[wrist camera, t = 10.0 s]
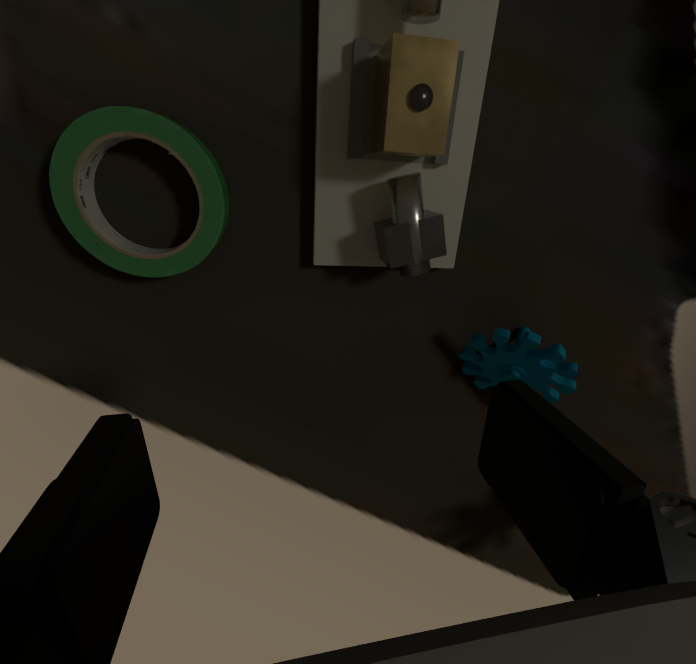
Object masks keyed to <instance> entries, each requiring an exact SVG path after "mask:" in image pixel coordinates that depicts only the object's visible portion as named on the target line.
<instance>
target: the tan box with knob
mask: <svg viewBox="0 0 696 664" xmlns="http://www.w3.org/2000/svg"><path fill="white" fill-rule="evenodd" d="M459 46H460V41H457V40H449V39H441V38H433V37H425V36H416V35H408V34H400V33H393V34H392V35H391V37H390V38H389V39H388V41H387V42H386V43H385V44H384V46H383V47H382V48H381V50H380V51H379V52H378V53H377V55H376V65H375V79H374V94H373V108H372V123H371V137H370V151H369V154H380V155H395V156H410V157H429V156H439V155H444V153H445V146H446V139H447V131H448V124H449V117H450V110H451V103H452V96H453V89H454V82H455V74H456V67H457V60H458V53H459Z"/></svg>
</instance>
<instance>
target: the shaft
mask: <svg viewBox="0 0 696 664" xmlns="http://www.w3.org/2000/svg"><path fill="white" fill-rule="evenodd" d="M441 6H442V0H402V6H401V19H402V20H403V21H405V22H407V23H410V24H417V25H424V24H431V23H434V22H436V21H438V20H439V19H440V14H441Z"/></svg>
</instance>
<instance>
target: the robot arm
mask: <svg viewBox="0 0 696 664" xmlns="http://www.w3.org/2000/svg"><path fill="white" fill-rule="evenodd" d="M478 467H479V470H480V472H481V474H482V476H483V477H484V478H485V480H486V481H487V483H488V484H489V486H490V487H491V489H492V490H493V491H494V493H495V494H496V496H497V497H498V499H499V500H500V502H501V503H502V504H503V506H504V507H505V509H506V510H507V512H508V513H509V515H510V516H511V517H512V519H513V520H514V522H515V523H516V525H517V526H518V528H519V529H520V531H521V532H522V533H523V535H524V536H525V538H526V539H527V541H528V542H529V544H530V545H531V546H532V548H533V549H534V551H535V552H536V554H537V555H538V557H539V558H540V559H541V561H542V562H543V564H544V565H545V567H546V568H547V570H548V571H549V572H550V574H551V575H552V577H553V578H554V580H555V581H556V582H557V583H558V585H560V586H561V587H563V588H566V589H567V591H568V592H569V594H570V595H571V597H572V598H573V599H574V601H570V602H565V603H561V604H556V605H551V606H546V607H541V608H536V609H531V610H526V611H522V612H516V613H511V614H507V615H501V616H496V617H492V618H487V619H482V620H477V621H472V622H467V623H463V624H458V625H453V626H449V627H444V628H439V629H434V630H429V631H424V632H419V633H415V634H410V635H405V636H401V637H396V638H391V639H386V640H382V641H377V642H372V643H368V644H362V645H358V646H353V647H348V648H343V649H339V650H334V651H329V652H325V653H320V654H315V655H311V656H306V657H301V658H297V659H292V660H287V661H283V662H278V663H274V664H696V499H694V498H691V497H689V496H686V495H682V494H678V493H674V492H660V493H656V494H654V495H653V496H652V497H651V499H649V498H647V497H646V496H645V495H644V494H643V492H644V490H645V488H646V485H647V484H646V483H644V482H643V481H642V480H641V479H640V478H638V477H637V476H636V475H635V474H634V473H632V472H631V471H630V470H629V469H628V468H626V467H625V466H624V465H623V464H622V463H620V462H619V461H618V460H617V459H616V458H615V457H613V456H612V455H611V454H610V453H609V452H607V451H606V450H605V449H604V448H603V447H601V446H600V445H599V444H598V443H597V442H595V441H594V440H593V439H592V438H591V437H589V436H588V435H587V434H586V433H585V432H583V431H582V430H581V429H580V428H579V427H577V426H576V425H575V424H574V423H573V422H571V421H570V420H569V419H568V418H567V417H566V416H564V415H563V414H562V413H561V412H560V411H558V410H557V409H556V408H555V407H554V406H552V405H551V404H550V403H549V402H548V401H546V400H545V399H544V398H543V397H542V396H540V395H539V394H538V393H537V392H536V391H534V390H533V389H532V388H531V387H530V386H528V385H527V384H526V383H525V382H524V381H522V380H509V381H501V382H499V383H498V384H497V387H494V388H493V389H492V393H491V398H490V403H489V408H488V412H487V417H486V422H485V427H484V432H483V437H482V442H481V447H480V452H479V457H478ZM159 511H160V501H159V496H158V493H157V488H156V484H155V480H154V476H153V472H152V468H151V463H150V459H149V455H148V451H147V447H146V443H145V439H144V435H143V431H142V427H141V423H140V421H139V419H132V417H131V415H130V414H128V413H127V414H117V415H105V416H101V417H100V418H99V419H98V420H97V421H96V423H95V424H94V426H93V427H92V429H91V430H90V431H89V433H88V434H87V436H86V437H85V439H84V440H83V442H82V443H81V444H80V446H79V447H78V449H77V450H76V451H75V453H74V454H73V456H72V457H71V459H70V460H69V461H68V463H67V464H66V466H65V467H64V469H63V470H62V471H61V473H60V474H59V476H58V477H57V479H55V480H53V481H52V483H50V484H49V486H48V487H47V488H46V490H45V491H44V492H43V494H42V495H41V497H40V498H39V499H38V501H37V502H36V504H35V505H34V506H33V508H32V509H31V511H30V512H29V514H28V515H27V516H26V518H25V519H24V521H23V522H22V523H21V525H20V526H19V528H18V529H17V530H16V532H15V533H14V535H13V536H12V537H11V539H10V540H9V542H8V543H7V545H6V546H5V547H4V549H3V550H2V552H1V553H0V664H110V663H111V660H112V657H113V654H114V651H115V648H116V644H117V642H118V638H119V635H120V632H121V629H122V626H123V623H124V620H125V617H126V614H127V611H128V608H129V605H130V602H131V599H132V596H133V593H134V590H135V587H136V584H137V580H138V577H139V574H140V571H141V568H142V565H143V562H144V559H145V556H146V553H147V550H148V547H149V544H150V541H151V538H152V534H153V532H154V529H155V526H156V523H157V519H158V516H159ZM598 594H599V595H600V596H597V595H598Z"/></svg>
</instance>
